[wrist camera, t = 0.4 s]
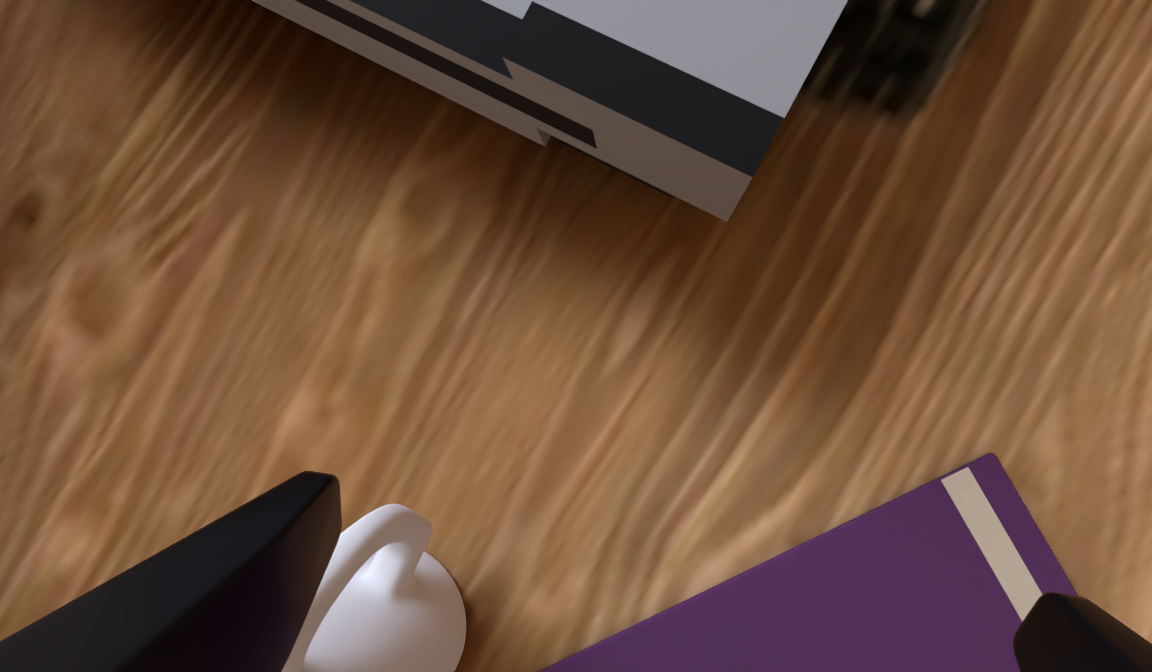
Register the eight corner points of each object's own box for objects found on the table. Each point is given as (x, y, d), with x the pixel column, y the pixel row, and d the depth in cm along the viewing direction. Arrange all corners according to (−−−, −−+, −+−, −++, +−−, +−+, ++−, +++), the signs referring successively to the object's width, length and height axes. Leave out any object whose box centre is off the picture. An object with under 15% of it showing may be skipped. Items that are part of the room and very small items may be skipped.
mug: (424, 746, 23) (178, 1169, 11) (278, 654, 24) (-100, 953, 12) (544, 509, 23) (428, 673, 11) (392, 425, 23) (128, 491, 12)
